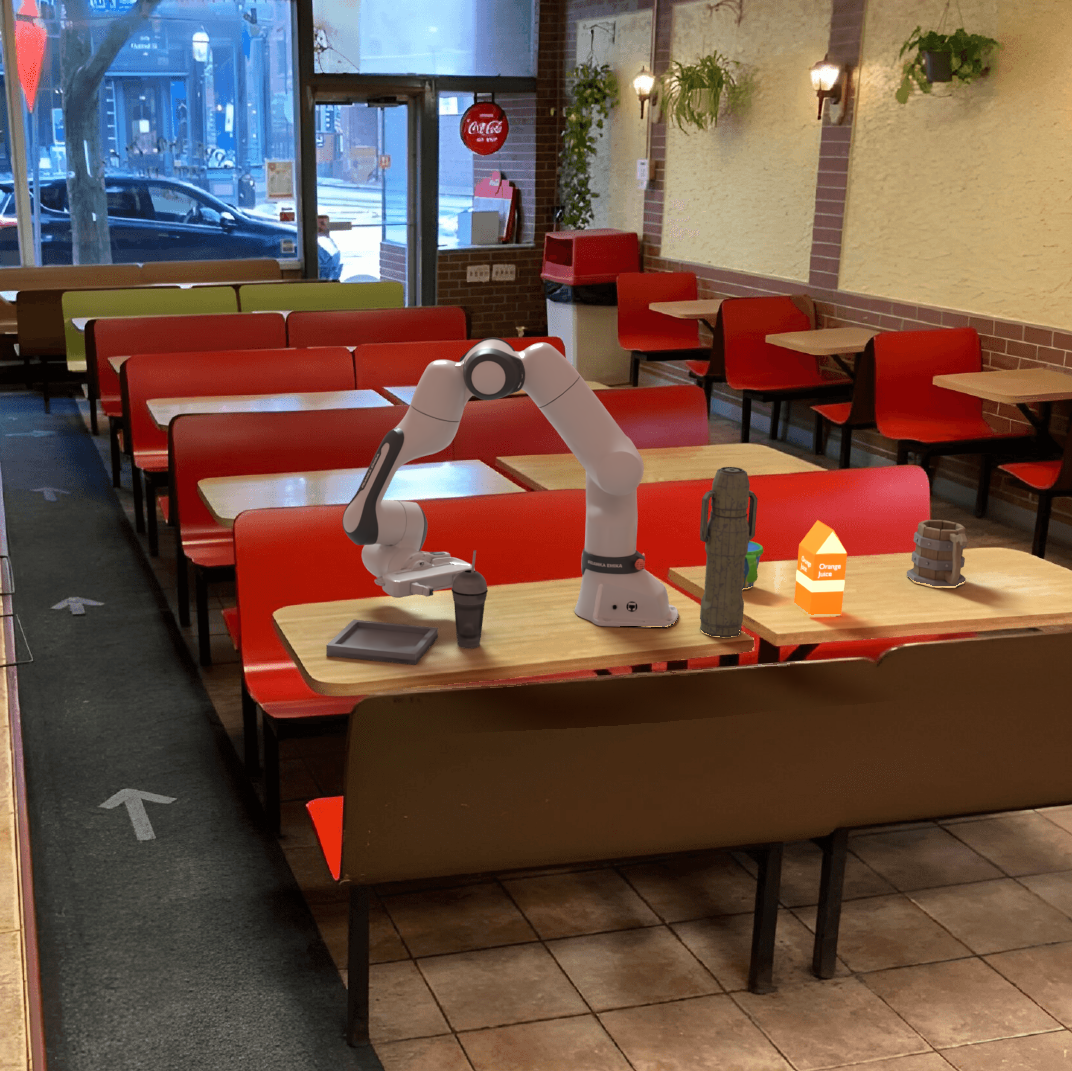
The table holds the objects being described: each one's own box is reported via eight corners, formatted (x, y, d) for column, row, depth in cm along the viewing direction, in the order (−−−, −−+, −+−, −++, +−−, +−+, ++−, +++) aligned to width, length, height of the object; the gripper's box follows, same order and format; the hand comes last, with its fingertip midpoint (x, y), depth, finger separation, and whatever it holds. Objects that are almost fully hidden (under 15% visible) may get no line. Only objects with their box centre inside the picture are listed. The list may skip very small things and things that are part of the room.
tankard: (901, 572, 327) (907, 513, 323) (951, 573, 328) (958, 514, 324) (929, 598, 308) (936, 535, 304) (982, 598, 309) (990, 536, 305)
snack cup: (769, 596, 305) (773, 554, 303) (725, 597, 303) (729, 555, 301) (747, 576, 320) (750, 535, 317) (705, 577, 318) (708, 536, 315)
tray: (437, 637, 271) (437, 627, 271) (415, 665, 256) (415, 654, 256) (353, 629, 275) (353, 619, 274) (326, 655, 259) (326, 645, 259)
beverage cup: (467, 635, 273) (469, 542, 268) (494, 644, 269) (496, 549, 263) (443, 644, 268) (444, 549, 262) (469, 653, 263) (471, 556, 258)
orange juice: (808, 618, 291) (816, 530, 286) (793, 605, 299) (800, 519, 294) (842, 617, 293) (850, 529, 287) (825, 604, 301) (833, 518, 296)
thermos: (756, 635, 279) (768, 472, 270) (707, 641, 275) (718, 475, 265) (733, 621, 287) (745, 463, 278) (685, 627, 282) (696, 466, 273)
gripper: (370, 565, 274) (406, 582, 264) (452, 550, 287) (490, 566, 276) (370, 594, 276) (406, 612, 266) (452, 578, 288) (489, 594, 278)
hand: (449, 588), depth 271 cm, fingers open, 8 cm apart
